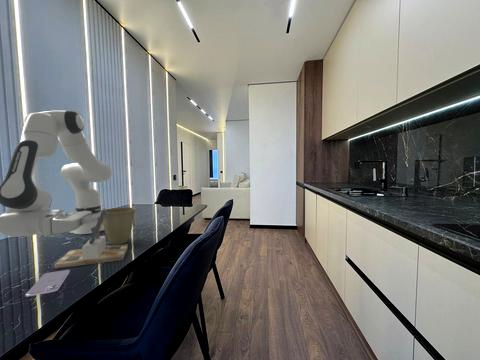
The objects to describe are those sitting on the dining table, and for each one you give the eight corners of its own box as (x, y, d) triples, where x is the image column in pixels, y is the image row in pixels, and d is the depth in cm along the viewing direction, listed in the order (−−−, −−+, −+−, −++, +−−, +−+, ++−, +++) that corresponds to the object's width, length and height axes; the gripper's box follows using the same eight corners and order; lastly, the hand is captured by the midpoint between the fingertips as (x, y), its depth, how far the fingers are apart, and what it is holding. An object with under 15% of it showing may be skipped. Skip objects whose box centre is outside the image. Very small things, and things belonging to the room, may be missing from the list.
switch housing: (92, 248, 97) (92, 237, 97) (106, 247, 99) (105, 235, 99) (82, 260, 85) (82, 247, 85) (97, 258, 87) (97, 245, 86)
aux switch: (97, 236, 97) (92, 226, 96) (100, 235, 98) (96, 225, 97) (95, 239, 94) (90, 229, 93) (98, 237, 94) (93, 227, 93)
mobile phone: (70, 268, 80) (57, 289, 67) (71, 271, 80) (57, 292, 67) (43, 272, 77) (23, 295, 63) (43, 275, 77) (23, 298, 64)
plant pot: (134, 245, 105) (132, 211, 104) (97, 249, 101) (95, 213, 100) (138, 236, 120) (137, 206, 119) (106, 239, 115) (104, 208, 114)
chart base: (70, 253, 96) (70, 249, 96) (128, 247, 103) (127, 243, 103) (54, 268, 82) (54, 264, 81) (122, 260, 89) (122, 255, 88)
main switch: (91, 240, 90) (104, 208, 91) (94, 241, 91) (107, 209, 92) (88, 243, 87) (102, 209, 88) (92, 244, 87) (105, 210, 88)
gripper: (67, 223, 95) (105, 221, 99) (42, 237, 75) (90, 233, 79) (66, 208, 94) (104, 206, 99) (41, 218, 75) (89, 215, 79)
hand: (98, 218), depth 89 cm, fingers closed, pressing on main switch
